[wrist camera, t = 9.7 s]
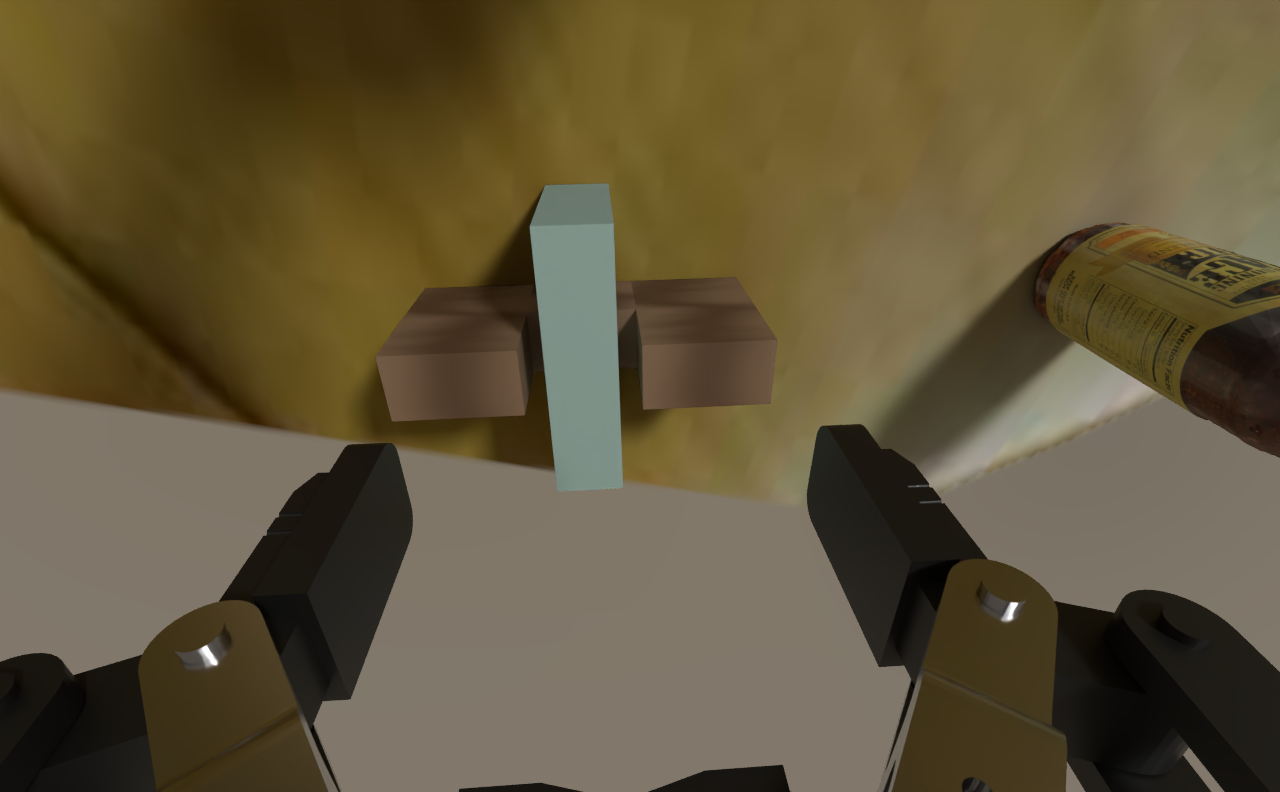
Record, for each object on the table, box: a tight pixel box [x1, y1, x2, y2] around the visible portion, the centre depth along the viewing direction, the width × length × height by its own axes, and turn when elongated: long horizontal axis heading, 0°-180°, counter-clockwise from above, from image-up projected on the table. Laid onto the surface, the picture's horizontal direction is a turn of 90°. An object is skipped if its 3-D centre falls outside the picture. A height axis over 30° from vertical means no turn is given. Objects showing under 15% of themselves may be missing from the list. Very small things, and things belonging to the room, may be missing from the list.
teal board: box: [530, 183, 623, 491], centre depth 28 cm, size 12×3×8 cm, turn 1°
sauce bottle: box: [1034, 223, 1280, 457], centre depth 24 cm, size 7×6×20 cm
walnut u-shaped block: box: [375, 277, 777, 422], centre depth 28 cm, size 16×3×8 cm, turn 91°
